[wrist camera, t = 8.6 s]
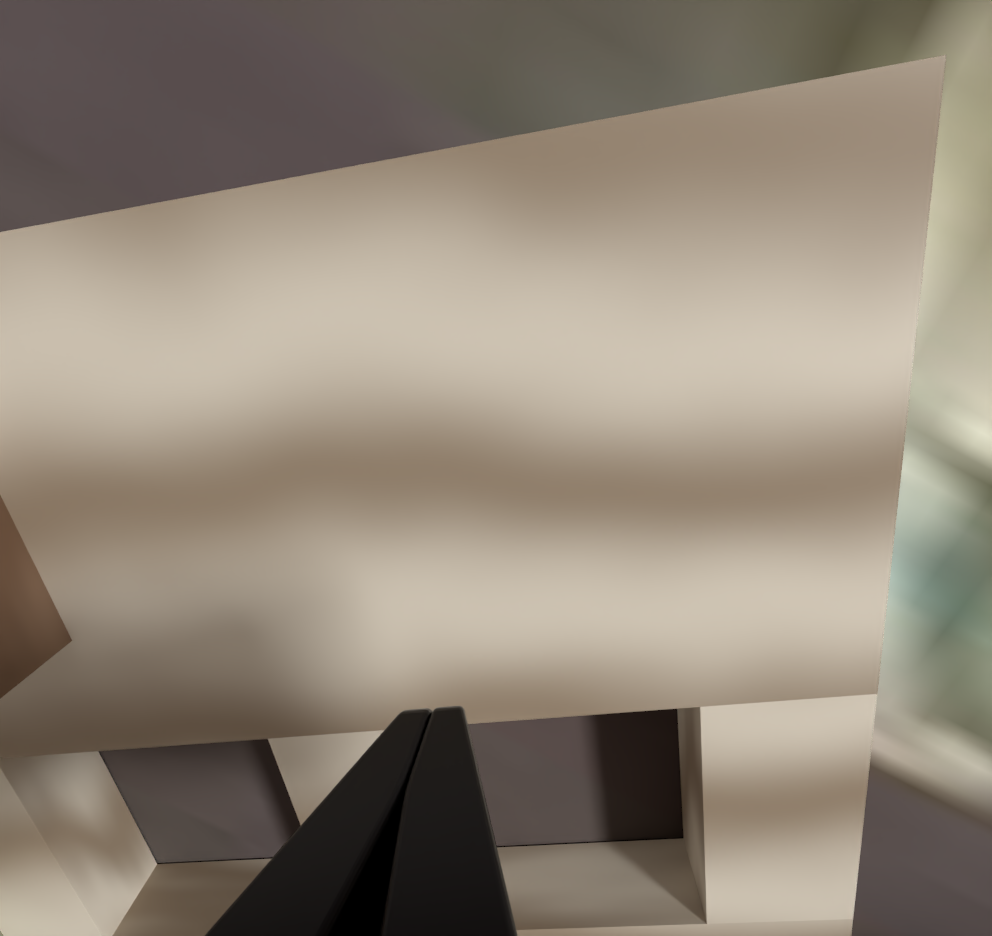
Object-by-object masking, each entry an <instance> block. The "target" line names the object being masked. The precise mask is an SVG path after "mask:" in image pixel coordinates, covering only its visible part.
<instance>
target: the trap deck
mask: <svg viewBox="0 0 992 936" xmlns="http://www.w3.org/2000/svg"><path fill="white" fill-rule="evenodd" d="M945 62H946V55H943V56H938V57H933V58H927V59H922V60H917V61H911V62H906V63H901V64H895V65H890V66H885V67H879V68H874V69H869V70H863V71H858V72H853V73H847V74H842V75H837V76H831V77H826V78H821V79H815V80H810V81H805V82H799V83H794V84H789V85H783V86H778V87H773V88H767V89H762V90H757V91H751V92H746V93H741V94H735V95H730V96H725V97H719V98H714V99H709V100H703V101H698V102H693V103H687V104H682V105H677V106H671V107H666V108H661V109H655V110H650V111H645V112H639V113H634V114H629V115H623V116H618V117H613V118H607V119H602V120H597V121H591V122H586V123H581V124H575V125H570V126H565V127H559V128H554V129H549V130H543V131H538V132H533V133H527V134H522V135H517V136H511V137H506V138H501V139H495V140H490V141H485V142H479V143H474V144H469V145H463V146H458V147H453V148H447V149H442V150H437V151H431V152H426V153H421V154H415V155H410V156H405V157H399V158H394V159H389V160H383V161H378V162H373V163H367V164H362V165H357V166H351V167H346V168H341V169H335V170H330V171H325V172H319V173H314V174H309V175H303V176H298V177H293V178H287V179H282V180H277V181H271V182H266V183H261V184H255V185H250V186H245V187H239V188H234V189H229V190H223V191H218V192H213V193H207V194H202V195H196V196H191V197H186V198H180V199H175V200H170V201H164V202H159V203H154V204H148V205H143V206H138V207H132V208H127V209H122V210H116V211H111V212H106V213H100V214H95V215H90V216H84V217H79V218H74V219H68V220H63V221H58V222H52V223H47V224H42V225H36V226H31V227H26V228H20V229H15V230H10V231H4V232H0V495H1V497H2V499H3V501H4V503H5V505H6V507H7V509H8V511H9V513H10V515H11V518H12V520H13V522H14V524H15V526H16V528H17V530H18V532H19V534H20V536H21V538H22V540H23V542H24V544H25V546H26V548H27V550H28V552H29V554H30V556H31V558H32V560H33V562H34V564H35V566H36V568H37V570H38V572H39V574H40V576H41V578H42V580H43V582H44V584H45V586H46V588H47V590H48V592H49V594H50V597H51V599H52V601H53V603H54V605H55V607H56V609H57V611H58V613H59V615H60V617H61V619H62V621H63V623H64V625H65V627H66V629H67V631H68V633H69V635H70V637H71V639H72V641H71V642H70V643H69V644H67V645H66V646H65V647H64V648H62V649H61V650H60V651H59V652H58V653H56V654H55V655H54V656H53V657H51V658H50V659H49V660H48V661H46V662H45V663H44V664H43V665H41V666H40V667H39V668H38V669H37V670H35V671H34V672H33V673H32V674H30V675H29V676H28V677H27V678H25V679H24V680H23V681H22V682H20V683H19V684H18V685H17V686H15V687H14V688H13V689H12V690H11V691H9V692H8V693H7V694H6V695H4V696H3V697H2V698H1V699H0V936H204V935H205V934H206V933H207V932H208V931H209V930H210V929H211V927H212V926H213V925H214V924H215V923H216V922H217V921H218V919H219V918H220V917H221V916H222V915H223V914H224V913H225V911H226V910H227V909H228V908H229V907H230V906H231V905H232V903H233V902H234V901H235V900H236V899H237V898H238V897H239V895H240V894H241V893H242V892H243V891H244V890H245V889H246V887H247V886H248V885H249V884H250V883H251V882H252V881H253V879H254V878H255V877H256V876H257V875H258V874H259V873H260V871H261V870H262V869H263V868H264V867H265V866H266V865H267V863H268V862H269V861H270V860H271V859H252V860H232V861H211V862H191V863H170V864H157V863H156V861H155V859H154V857H153V855H152V853H151V851H150V849H149V848H148V846H147V844H146V842H145V840H144V838H143V836H142V834H141V832H140V830H139V828H138V826H137V825H136V823H135V821H134V819H133V817H132V815H131V813H130V811H129V809H128V807H127V805H126V803H125V802H124V800H123V798H122V796H121V794H120V792H119V790H118V788H117V786H116V784H115V782H114V780H113V779H112V777H111V775H110V773H109V771H108V769H107V767H106V765H105V763H104V761H103V759H102V757H101V756H100V754H99V752H98V751H108V750H121V749H135V748H148V747H162V746H176V745H189V744H203V743H216V742H230V741H244V740H257V739H268V741H269V743H270V746H271V749H272V751H273V754H274V756H275V759H276V762H277V764H278V767H279V770H280V772H281V775H282V778H283V780H284V783H285V785H286V788H287V791H288V793H289V796H290V799H291V801H292V804H293V807H294V809H295V812H296V814H297V817H298V820H299V822H300V825H302V824H303V822H304V821H305V820H306V819H307V818H308V817H309V816H310V814H311V813H312V812H313V811H314V810H315V809H316V808H317V806H318V805H319V804H320V803H321V802H322V801H323V800H324V798H325V797H326V796H327V795H328V794H329V793H330V792H331V790H332V789H333V788H334V787H335V786H336V785H337V784H338V782H339V781H340V780H341V779H342V778H343V777H344V776H345V774H346V773H347V772H348V771H349V770H350V769H351V768H352V766H353V765H354V764H355V763H356V762H357V761H358V760H359V758H360V757H361V756H362V755H363V754H364V753H365V752H366V750H367V749H368V748H369V747H370V746H371V745H372V744H373V742H374V741H375V740H376V739H377V738H378V737H379V736H380V734H381V733H382V732H383V731H384V730H385V729H386V728H387V726H388V725H389V724H390V723H391V722H392V721H393V720H394V718H395V717H396V716H397V715H398V714H399V713H400V712H402V711H404V710H409V709H422V708H429V709H431V710H432V711H433V710H434V709H435V708H437V707H447V706H462V707H463V708H464V710H465V714H466V719H467V723H468V724H475V723H488V722H502V721H515V720H529V719H543V718H556V717H570V716H583V715H597V714H610V713H624V712H638V711H651V710H665V709H677V715H678V736H679V757H680V777H681V798H682V819H683V838H680V839H660V840H640V841H619V842H599V843H578V844H558V845H538V846H517V847H497V850H498V854H499V858H500V863H501V867H502V871H503V875H504V880H505V884H506V888H507V892H508V897H509V901H510V905H511V909H512V914H513V918H514V922H515V926H516V931H517V935H518V936H851V933H852V923H853V914H854V905H855V895H856V886H857V877H858V868H859V858H860V849H861V840H862V831H863V821H864V812H865V803H866V794H867V784H868V775H869V766H870V757H871V747H872V738H873V729H874V720H875V710H876V701H877V692H878V683H879V673H880V664H881V655H882V645H883V636H884V627H885V618H886V608H887V599H888V590H889V581H890V571H891V562H892V553H893V544H894V534H895V525H896V516H897V507H898V497H899V488H900V479H901V470H902V460H903V451H904V442H905V432H906V423H907V414H908V405H909V395H910V386H911V377H912V368H913V358H914V349H915V340H916V331H917V321H918V312H919V303H920V294H921V284H922V275H923V266H924V257H925V247H926V238H927V229H928V220H929V210H930V201H931V192H932V182H933V173H934V164H935V155H936V145H937V136H938V127H939V118H940V108H941V99H942V90H943V81H944V71H945Z"/></svg>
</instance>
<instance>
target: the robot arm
mask: <svg viewBox="0 0 992 936" xmlns="http://www.w3.org/2000/svg"><path fill="white" fill-rule="evenodd" d="M204 936H518V935H517V931H516V926H515V922H514V918H513V914H512V909H511V905H510V901H509V897H508V892H507V888H506V884H505V880H504V875H503V871H502V867H501V863H500V858H499V854H498V850H497V846H496V842H495V837H494V833H493V829H492V825H491V820H490V816H489V812H488V808H487V803H486V799H485V795H484V791H483V786H482V782H481V778H480V774H479V769H478V765H477V761H476V757H475V752H474V748H473V744H472V740H471V736H470V731H469V727H468V723H467V719H466V714H465V710H464V708H463V707H462V706H447V707H437V708H435V709H434V710H433V711H432V710H431V709H429V708H422V709H409V710H404V711H402V712H400V713H399V714H398V715H397V716H396V717H395V718H394V720H393V721H392V722H391V723H390V724H389V725H388V726H387V728H386V729H385V730H384V731H383V732H382V733H381V734H380V736H379V737H378V738H377V739H376V740H375V741H374V742H373V744H372V745H371V746H370V747H369V748H368V749H367V750H366V752H365V753H364V754H363V755H362V756H361V757H360V758H359V760H358V761H357V762H356V763H355V764H354V765H353V766H352V768H351V769H350V770H349V771H348V772H347V773H346V774H345V776H344V777H343V778H342V779H341V780H340V781H339V782H338V784H337V785H336V786H335V787H334V788H333V789H332V790H331V792H330V793H329V794H328V795H327V796H326V797H325V798H324V800H323V801H322V802H321V803H320V804H319V805H318V806H317V808H316V809H315V810H314V811H313V812H312V813H311V814H310V816H309V817H308V818H307V819H306V820H305V821H304V822H303V824H302V825H301V826H300V827H299V828H298V829H297V830H296V832H295V833H294V834H293V835H292V836H291V837H290V838H289V840H288V841H287V842H286V843H285V844H284V845H283V846H282V848H281V849H280V850H279V851H278V852H277V853H276V854H275V856H274V857H273V858H272V859H271V860H270V861H269V862H268V863H267V865H266V866H265V867H264V868H263V869H262V870H261V871H260V873H259V874H258V875H257V876H256V877H255V878H254V879H253V881H252V882H251V883H250V884H249V885H248V886H247V887H246V889H245V890H244V891H243V892H242V893H241V894H240V895H239V897H238V898H237V899H236V900H235V901H234V902H233V903H232V905H231V906H230V907H229V908H228V909H227V910H226V911H225V913H224V914H223V915H222V916H221V917H220V918H219V919H218V921H217V922H216V923H215V924H214V925H213V926H212V927H211V929H210V930H209V931H208V932H207V933H206V934H205V935H204Z"/></svg>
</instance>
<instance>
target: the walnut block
mask: <svg viewBox="0 0 992 936" xmlns="http://www.w3.org/2000/svg"><path fill="white" fill-rule="evenodd" d="M71 641H72V639H71V637H70V635H69V633H68V631H67V629H66V627H65V625H64V623H63V621H62V619H61V617H60V615H59V613H58V611H57V609H56V607H55V605H54V603H53V601H52V599H51V597H50V594H49V592H48V590H47V588H46V586H45V584H44V582H43V580H42V578H41V576H40V574H39V572H38V570H37V568H36V566H35V564H34V562H33V560H32V558H31V556H30V554H29V552H28V550H27V548H26V546H25V544H24V542H23V540H22V538H21V536H20V534H19V532H18V530H17V528H16V526H15V524H14V522H13V520H12V518H11V515H10V513H9V511H8V509H7V507H6V505H5V503H4V501H3V499H2V497H1V495H0V699H1V698H2V697H3V696H4V695H6V694H7V693H8V692H9V691H11V690H12V689H13V688H14V687H15V686H17V685H18V684H19V683H20V682H22V681H23V680H24V679H25V678H27V677H28V676H29V675H30V674H32V673H33V672H34V671H35V670H37V669H38V668H39V667H40V666H41V665H43V664H44V663H45V662H46V661H48V660H49V659H50V658H51V657H53V656H54V655H55V654H56V653H58V652H59V651H60V650H61V649H62V648H64V647H65V646H66V645H67V644H69V643H70V642H71Z"/></svg>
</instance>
